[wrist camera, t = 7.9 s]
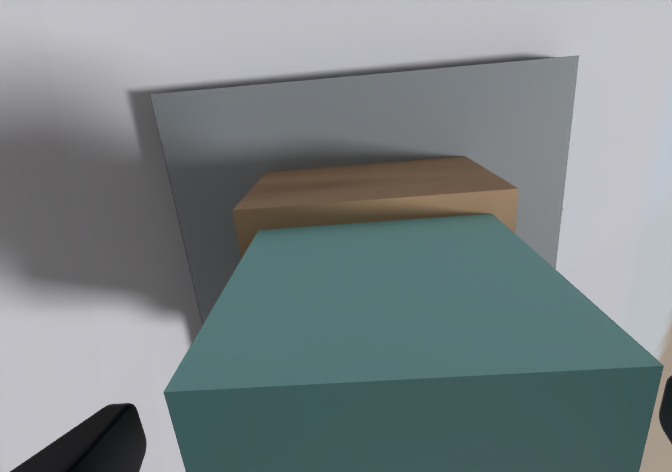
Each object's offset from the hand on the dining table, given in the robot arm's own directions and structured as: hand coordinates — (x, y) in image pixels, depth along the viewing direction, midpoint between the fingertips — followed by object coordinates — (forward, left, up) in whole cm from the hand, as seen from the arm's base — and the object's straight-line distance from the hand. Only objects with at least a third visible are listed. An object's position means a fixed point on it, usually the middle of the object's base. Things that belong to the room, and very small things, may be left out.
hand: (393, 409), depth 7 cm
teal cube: (0, 0, -3) cm, 3 cm away
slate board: (0, 0, -8) cm, 8 cm away
